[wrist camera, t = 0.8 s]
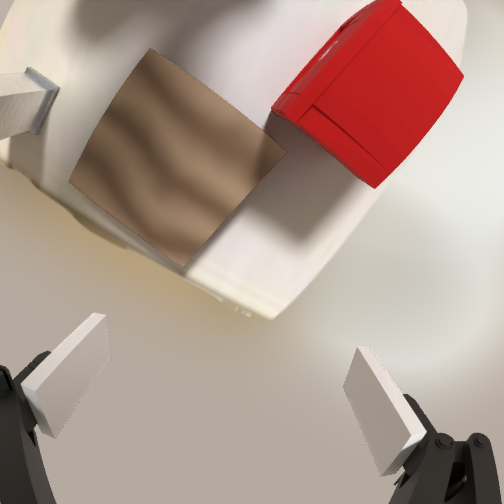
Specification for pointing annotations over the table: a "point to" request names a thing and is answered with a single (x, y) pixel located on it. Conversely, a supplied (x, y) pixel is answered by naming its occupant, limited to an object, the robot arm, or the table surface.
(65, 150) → the table surface
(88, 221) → the table surface
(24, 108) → the aluminium housing
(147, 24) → the table surface
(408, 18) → the fire alarm
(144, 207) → the walnut stand
